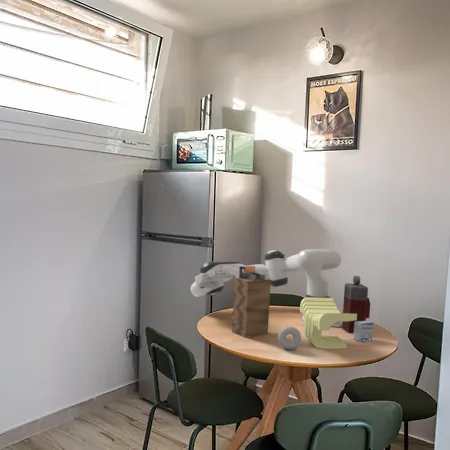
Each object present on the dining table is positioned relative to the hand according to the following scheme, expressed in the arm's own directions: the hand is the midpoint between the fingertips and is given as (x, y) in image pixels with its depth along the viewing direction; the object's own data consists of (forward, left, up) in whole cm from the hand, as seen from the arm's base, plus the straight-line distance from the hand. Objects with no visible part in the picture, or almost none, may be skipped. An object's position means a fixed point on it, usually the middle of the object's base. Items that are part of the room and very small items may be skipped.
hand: (223, 272), depth 231 cm
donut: (-43, +25, -26) cm, 56 cm away
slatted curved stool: (-55, +8, -26) cm, 62 cm away
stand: (-20, +11, -26) cm, 35 cm away
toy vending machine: (-65, -22, -26) cm, 74 cm away
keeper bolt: (-10, +5, 0) cm, 11 cm away
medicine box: (-70, -8, -26) cm, 75 cm away
